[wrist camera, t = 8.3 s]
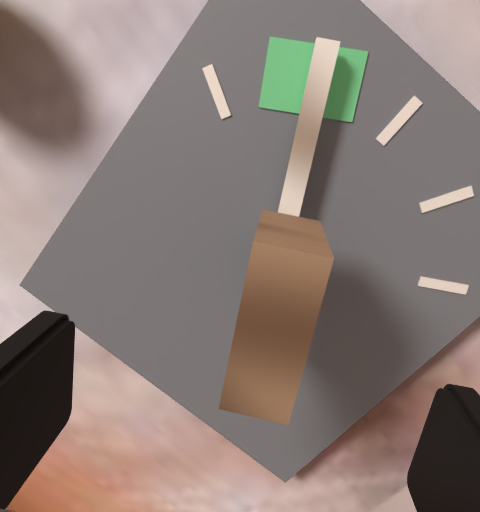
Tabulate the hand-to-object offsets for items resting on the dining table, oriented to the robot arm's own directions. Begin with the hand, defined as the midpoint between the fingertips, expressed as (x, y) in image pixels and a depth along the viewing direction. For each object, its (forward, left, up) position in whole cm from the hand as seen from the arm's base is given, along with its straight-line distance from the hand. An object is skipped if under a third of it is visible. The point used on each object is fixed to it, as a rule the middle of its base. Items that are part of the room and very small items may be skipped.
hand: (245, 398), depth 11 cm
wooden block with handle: (+4, +1, -11) cm, 12 cm away
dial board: (+1, 0, -13) cm, 13 cm away
